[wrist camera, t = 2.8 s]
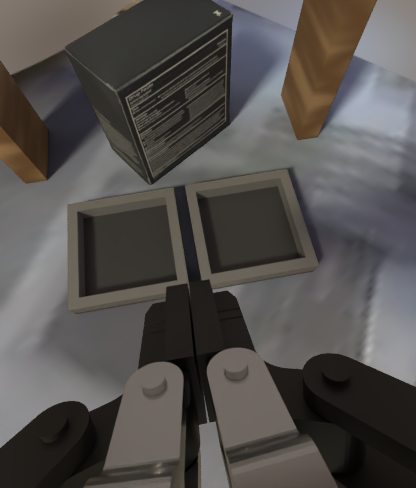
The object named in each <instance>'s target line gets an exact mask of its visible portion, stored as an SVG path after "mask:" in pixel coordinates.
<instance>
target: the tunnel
mask: <svg viewBox="0 0 416 488" xmlns="http://www.w3.org/2000/svg"><path fill="white" fill-rule="evenodd" d="M376 1H377V0H304V1H303V5H302V9H301V13H300V18H299V22H298V26H297V30H296V34H295V38H294V43H293V47H292V51H291V55H290V59H289V64H288V68H287V72H286V76H285V80H284V85H283V89H282V93H281V96H282V99H283V102H284V105H285V107H286V110H287V113H288V116H289V118H290V121H291V124H292V127H293V129H294V132H295V135H296V138H297V140H302V139H308V138H314V137H318V134H319V132H320V130H321V128H322V125H323V123H324V121H325V118H326V116H327V114H328V112H329V109H330V107H331V105H332V102H333V100H334V98H335V95H336V93H337V91H338V89H339V86H340V84H341V82H342V79H343V77H344V75H345V73H346V70H347V68H348V66H349V63H350V61H351V59H352V56H353V54H354V52H355V49H356V47H357V45H358V42H359V40H360V38H361V36H362V33H363V31H364V29H365V26H366V24H367V22H368V20H369V17H370V15H371V13H372V11H373V8H374V6H375V4H376ZM48 132H49V130H48V129H47V127H46V126H45V125H44V123H43V122H42V120H41V119H40V117H39V116H38V114H37V113H36V112H35V110H34V109H33V107H32V106H31V104H30V103H29V101H28V100H27V98H26V97H25V96H24V94H23V93H22V91H21V90H20V88H19V87H18V85H17V84H16V83H15V81H14V80H13V78H12V77H11V75H10V74H9V72H8V71H7V69H6V68H5V67H4V65H3V64H2V62H1V61H0V159H1V160H2V161H3V162H4V163H5V164H6V165H8V166H9V167H10V168H11V169H12V170H13V171H14V172H15V173H16V174H17V175H18V176H19V177H20V178H21V179H22V180H23V181H24V182H25V183H32V182H38V181H45V180H47V175H48Z"/></svg>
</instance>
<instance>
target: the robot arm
mask: <svg viewBox="0 0 416 488" xmlns="http://www.w3.org/2000/svg"><path fill="white" fill-rule="evenodd" d="M189 288H190V294H189ZM189 288H188V284H187V283H185V284H179V285H174V286H168V287H166V302H160V303H155V304H152V306H151V307H150V309H149V310H148V311H147V313H146V314H145V322H144V329H143V337H142V344H141V352H140V359H139V367H138V370H137V371H136V372H135V373H134V374H133V375H132V376H131V377H130V378H129V380H128V382H127V383H126V386H125V389H124V393H123V394H122V395H121V396H120V397H118V398H117V399H115V400H113V401H111V402H109V403H107V404H105V405H103V406H101V407H99V408H97V409H94V410H92V411H90V412H89V411H88V409H87V407H86V406H85V405H84V404H82V403H80V402H76V401H67V402H62V403H59V404H56V405H54V406H52V407H50V408H48V409H46V410H45V411H43V412H42V413H41V414H39V415H38V416H37V417H36V418H35V419H33V420H32V421H31V422H30V423H29V424H28V425H27V426H25V427H24V428H23V429H22V430H21V431H20V432H18V433H17V434H16V435H15V436H14V437H13V438H12V439H10V440H9V441H8V442H7V443H6V444H5V445H4V446H2V447H1V448H0V488H201V454H200V449H199V448H200V434H199V425H200V424H205V423H207V418H206V409H205V402H206V407H207V412H208V417H209V422H214V421H216V426H217V431H218V437H219V442H220V448H221V453H222V458H223V462H224V466H225V471H226V475H227V480H228V484H229V488H416V387H415V386H412V385H410V384H408V383H405V382H403V381H401V380H399V379H396V378H394V377H392V376H390V375H387V374H385V373H383V372H381V371H378V370H376V369H374V368H372V367H369V366H367V365H365V364H363V363H360V362H358V361H356V360H354V359H351V358H349V357H346V356H343V355H339V354H331V353H327V354H320V355H317V356H314V357H312V358H311V359H309V360H308V361H307V362H306V364H305V365H304V368H303V370H301V369H288V368H281V367H277V366H274V365H271V364H269V363H267V362H265V361H264V360H263V359H262V358H261V357H260V356H259V355H258V354H257V353H256V351H255V349H254V346H253V343H252V340H251V338H250V335H249V332H248V329H247V326H246V324H245V321H244V318H243V315H242V312H241V310H240V307H239V304H238V301H237V298H236V297H235V296H233V295H232V294H231V293H230V292H228V291H222V292H216V293H213V291H212V287H211V283H210V279H207V280H202V281H196V282H190V283H189ZM190 298H191V299H190ZM203 391H204V392H203ZM204 396H205V400H204Z"/></svg>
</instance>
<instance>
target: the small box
mask: <svg viewBox="0 0 416 488" xmlns="http://www.w3.org/2000/svg"><path fill="white" fill-rule="evenodd" d="M232 21H233V13H232V12H230V11H228V10H226V9H225V8H223V7H222V6H220V5H218V4H217V3H215V2H213V1H212V0H143V1H141V2H140V3H138V4H136V5H135V6H133V7H131V8H130V9H128V10H126V11H125V12H123V13H121V14H120V15H118V16H116V17H114V18H113V19H111V20H109V21H108V22H106V23H104V24H103V25H101V26H99V27H97V28H96V29H94V30H92V31H91V32H89V33H88V34H86V35H84V36H82V37H80V38H79V39H77V40H75V41H74V42H72V43H70V44H69V45H67V46H65V51H66V53H67V55H68V57H69V59H70V61H71V63H72V65H73V67H74V69H75V72H76V74H77V76H78V78H79V80H80V82H81V84H82V86H83V88H84V90H85V92H86V94H87V96H88V98H89V100H90V102H91V105H92V107H93V109H94V111H95V113H96V115H97V118H98V119H99V122H100V124H101V126H102V128H103V130H104V132H105V134H106V136H107V138H108V140H109V142H110V145H111V147H112V149H113V150H114V151H115V152H116V153H117V154H118V155H119V156H120V157H121V158H122V159H123V160H124V161H125V162H126V163H127V164H128V165H129V166H130V167H131V168H132V169H133V170H134V171H135V172H136V173H137V174H139V176H140V177H142V178H143V179H144V180H145V181H146V182H147V183H148V184H149V185H151V184H153V183H154V182H156V181H157V180H158V179H160V178H161V177H162V176H163V175H165V174H166V173H167V172H169V171H170V170H171V169H172V168H174V167H175V166H176V165H178V164H179V163H180V162H182V161H183V160H184V159H185V158H187V157H188V156H189V155H190V154H192V153H193V152H194V151H196V150H197V149H198V148H200V147H201V146H202V145H203V144H205V143H206V142H207V141H209V140H210V139H211V138H212V137H214V136H215V135H216V134H217V133H219V132H220V131H221V130H223V129H224V128H225V127H226V126H228V125H229V121H230V118H229V98H230V74H231V39H232Z"/></svg>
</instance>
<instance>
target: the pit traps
mask: <svg viewBox="0 0 416 488" xmlns="http://www.w3.org/2000/svg"><path fill="white" fill-rule="evenodd" d="M185 189H186V195H187V201H188V207H189V212H190V218H191V224H192V229H193V235H194V241H195V246H196V252H197V258H198V263H199V269H200V275H201V280H207V279H210V283H211V287H212V289H217V288H223V287H228V286H234V285H239V284H245V283H250V282H256V281H261V280H267V279H273V278H278V277H284V276H289V275H295V274H300V273H306V272H311V271H314V270H315V269H316V268H317V267H318V266H319V263H318V260H317V257H316V254H315V251H314V248H313V245H312V242H311V239H310V236H309V233H308V230H307V227H306V224H305V221H304V218H303V215H302V212H301V209H300V206H299V203H298V200H297V197H296V194H295V191H294V188H293V185H292V182H291V179H290V176H289V173H288V170H287V169H282V170H276V171H269V172H263V173H257V174H251V175H245V176H239V177H233V178H227V179H221V180H215V181H208V182H202V183H196V184H190V185H185ZM185 283H187V284H188V288H189V278H188V272H187V266H186V259H185V253H184V247H183V241H182V235H181V228H180V222H179V216H178V210H177V203H176V197H175V192H174V188H173V187H172V188H166V189H160V190H153V191H147V192H141V193H135V194H129V195H123V196H117V197H111V198H105V199H99V200H92V201H86V202H80V203H74V204H68V311H71V312H73V313H76V314H79V313H85V312H90V311H96V310H101V309H107V308H112V307H118V306H123V305H129V304H134V303H140V302H145V301H151V300H156V299H162V298H166V287H168V286H174V285H179V284H185ZM189 294H190V288H189Z"/></svg>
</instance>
